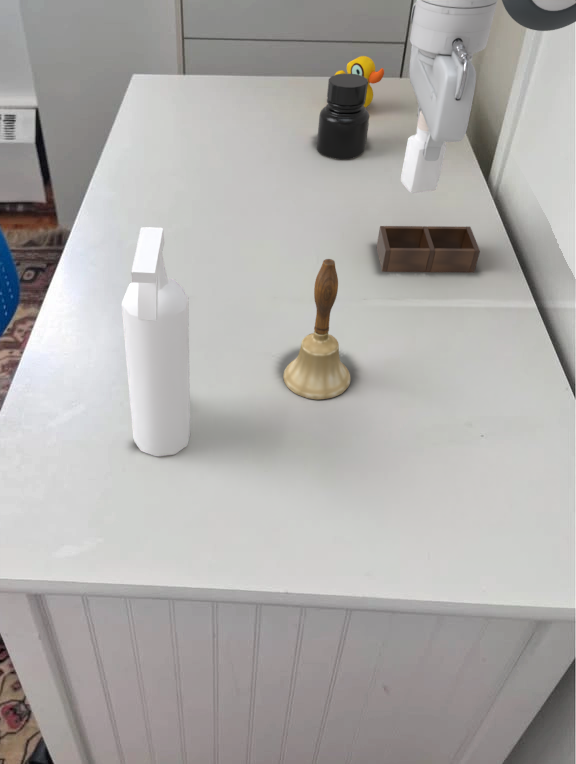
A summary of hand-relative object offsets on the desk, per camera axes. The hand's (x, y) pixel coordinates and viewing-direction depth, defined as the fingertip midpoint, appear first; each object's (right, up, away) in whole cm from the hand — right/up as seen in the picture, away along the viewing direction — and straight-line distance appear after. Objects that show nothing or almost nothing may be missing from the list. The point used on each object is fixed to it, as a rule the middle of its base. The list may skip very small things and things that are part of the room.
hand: (426, 148), depth 93 cm
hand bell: (-15, -30, -4) cm, 34 cm away
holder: (+3, -11, +13) cm, 18 cm away
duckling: (+1, +32, +53) cm, 62 cm away
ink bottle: (-4, +18, +41) cm, 45 cm away
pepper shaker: (0, -4, +4) cm, 5 cm away
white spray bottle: (-33, -37, -10) cm, 51 cm away
